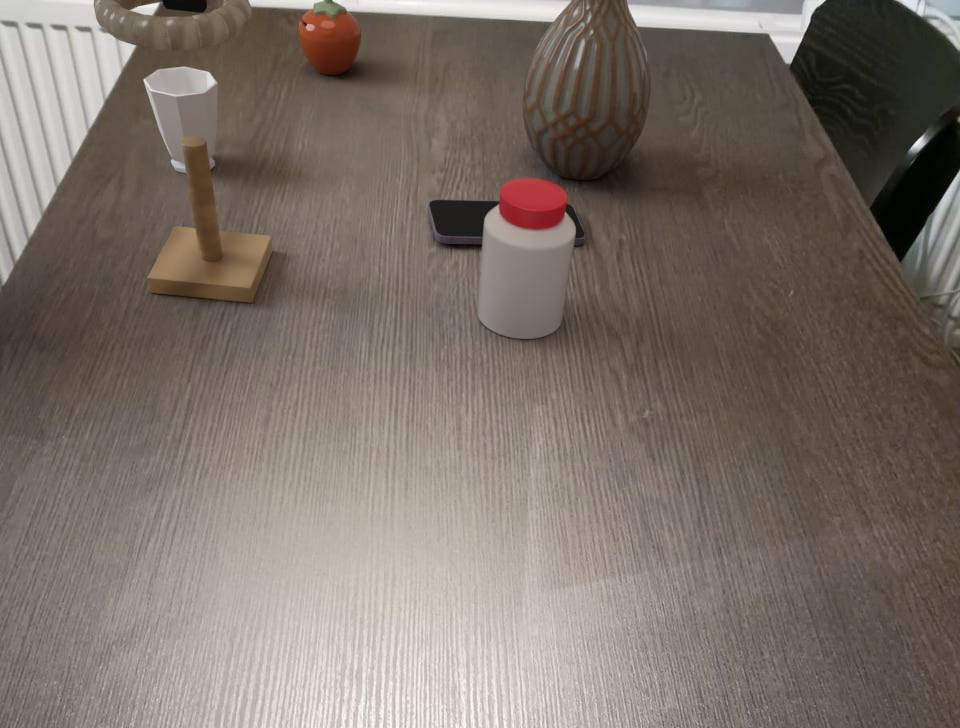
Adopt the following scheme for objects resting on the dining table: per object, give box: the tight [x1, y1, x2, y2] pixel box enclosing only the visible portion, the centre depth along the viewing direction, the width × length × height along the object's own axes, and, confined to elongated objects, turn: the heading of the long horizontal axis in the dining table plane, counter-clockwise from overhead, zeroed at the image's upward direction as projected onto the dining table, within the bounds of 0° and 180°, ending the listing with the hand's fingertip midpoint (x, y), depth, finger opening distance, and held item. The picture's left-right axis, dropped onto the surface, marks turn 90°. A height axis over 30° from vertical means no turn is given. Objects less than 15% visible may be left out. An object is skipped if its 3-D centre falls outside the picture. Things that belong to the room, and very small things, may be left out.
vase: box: [522, 0, 652, 181], centre depth 99 cm, size 13×13×18 cm
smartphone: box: [427, 199, 586, 247], centre depth 96 cm, size 7×1×15 cm
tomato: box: [297, 0, 362, 76], centre depth 114 cm, size 7×7×8 cm
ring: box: [93, 0, 253, 52], centre depth 70 cm, size 11×11×2 cm
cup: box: [143, 65, 219, 174], centre depth 98 cm, size 7×10×8 cm
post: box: [146, 136, 274, 304], centre depth 83 cm, size 9×9×12 cm
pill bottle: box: [476, 177, 576, 340], centre depth 82 cm, size 8×8×11 cm
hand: (190, 0), depth 74 cm, fingers closed on ring, 2 cm apart
